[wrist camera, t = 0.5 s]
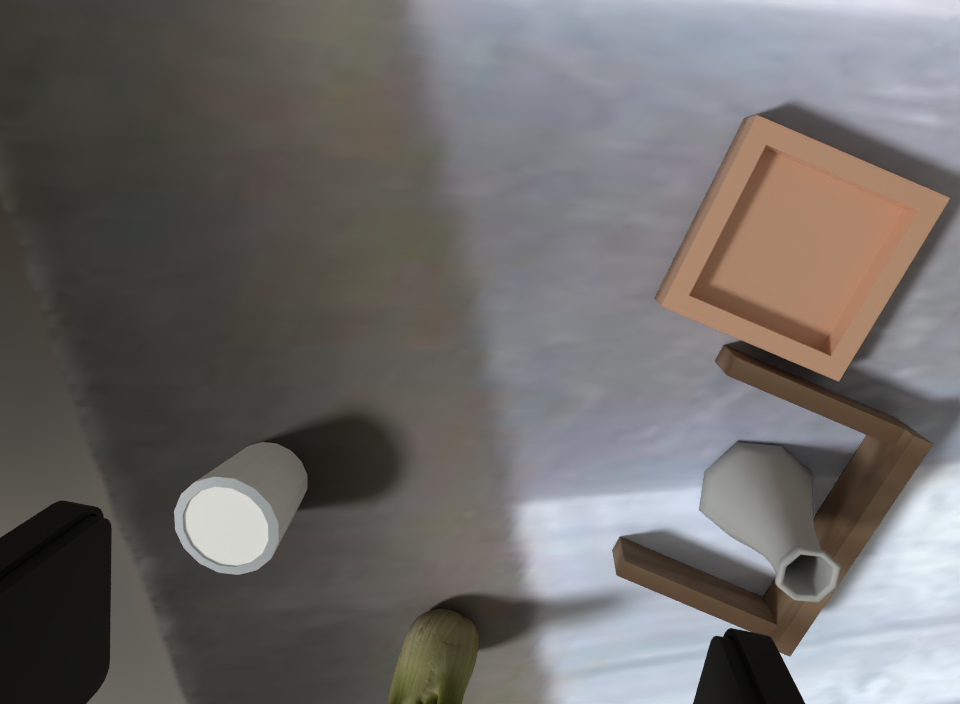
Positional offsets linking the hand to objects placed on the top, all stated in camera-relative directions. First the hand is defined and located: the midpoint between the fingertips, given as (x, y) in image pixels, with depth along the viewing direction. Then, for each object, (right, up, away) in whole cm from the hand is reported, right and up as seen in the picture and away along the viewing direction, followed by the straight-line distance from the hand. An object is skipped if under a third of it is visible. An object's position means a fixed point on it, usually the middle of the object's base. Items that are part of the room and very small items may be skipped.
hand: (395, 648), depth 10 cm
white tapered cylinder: (-14, -5, +38) cm, 41 cm away
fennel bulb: (-1, -16, +40) cm, 43 cm away
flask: (+20, -5, +35) cm, 40 cm away
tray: (+20, +11, +30) cm, 38 cm away
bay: (+20, -5, +35) cm, 40 cm away
